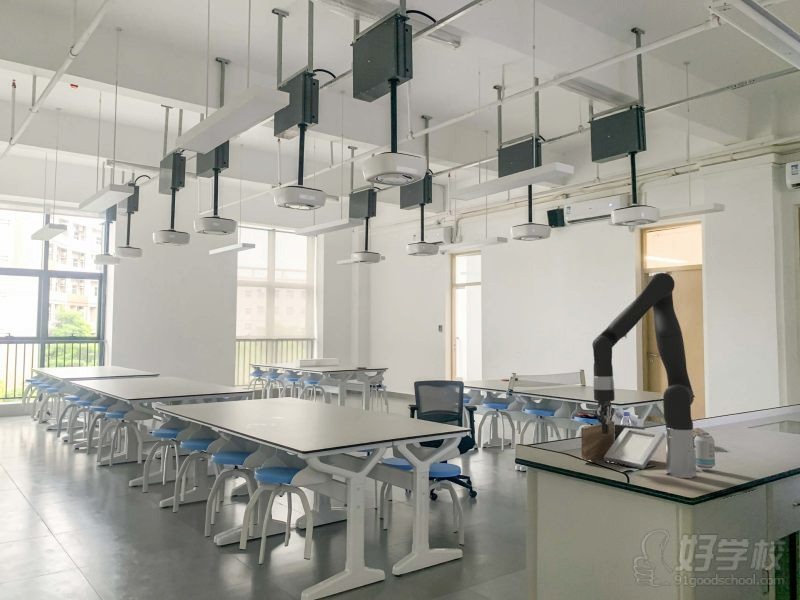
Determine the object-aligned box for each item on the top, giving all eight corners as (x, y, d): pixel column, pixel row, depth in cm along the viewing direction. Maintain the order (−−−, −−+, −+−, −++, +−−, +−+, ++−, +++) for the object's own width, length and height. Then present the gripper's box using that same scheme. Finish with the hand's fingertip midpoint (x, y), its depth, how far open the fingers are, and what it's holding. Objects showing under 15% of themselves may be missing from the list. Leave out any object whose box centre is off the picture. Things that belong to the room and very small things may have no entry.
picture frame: (603, 456, 238) (626, 425, 250) (605, 462, 239) (627, 431, 251) (642, 464, 226) (664, 432, 239) (644, 470, 227) (665, 438, 240)
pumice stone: (683, 443, 285) (683, 425, 286) (711, 445, 280) (711, 427, 281) (683, 447, 273) (682, 429, 273) (712, 449, 268) (712, 431, 268)
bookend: (649, 458, 248) (648, 426, 249) (644, 460, 244) (643, 427, 245) (620, 454, 256) (619, 423, 257) (615, 456, 252) (614, 424, 253)
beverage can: (697, 464, 236) (696, 433, 237) (716, 466, 231) (716, 435, 232) (692, 467, 231) (692, 435, 231) (712, 469, 226) (711, 437, 227)
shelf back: (614, 454, 255) (614, 421, 256) (585, 464, 234) (584, 428, 235) (611, 454, 256) (610, 420, 257) (581, 464, 235) (581, 427, 236)
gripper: (606, 389, 225) (608, 436, 224) (620, 387, 235) (622, 432, 233) (587, 388, 230) (588, 435, 228) (601, 386, 240) (603, 431, 238)
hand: (605, 433), depth 231 cm, fingers closed
